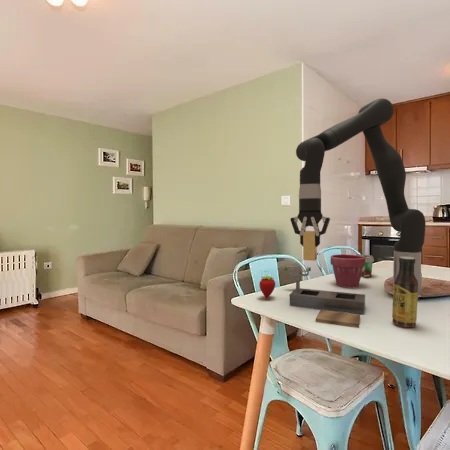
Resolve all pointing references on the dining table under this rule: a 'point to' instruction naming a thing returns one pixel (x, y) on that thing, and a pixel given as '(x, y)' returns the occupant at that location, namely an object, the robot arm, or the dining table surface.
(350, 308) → the grey slotted block
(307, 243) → the brass peg
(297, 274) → the mechanical component
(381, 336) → the dining table surface
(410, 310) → the sauce bottle
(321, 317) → the walnut board
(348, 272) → the plant pot
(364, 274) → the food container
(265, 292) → the strawberry
